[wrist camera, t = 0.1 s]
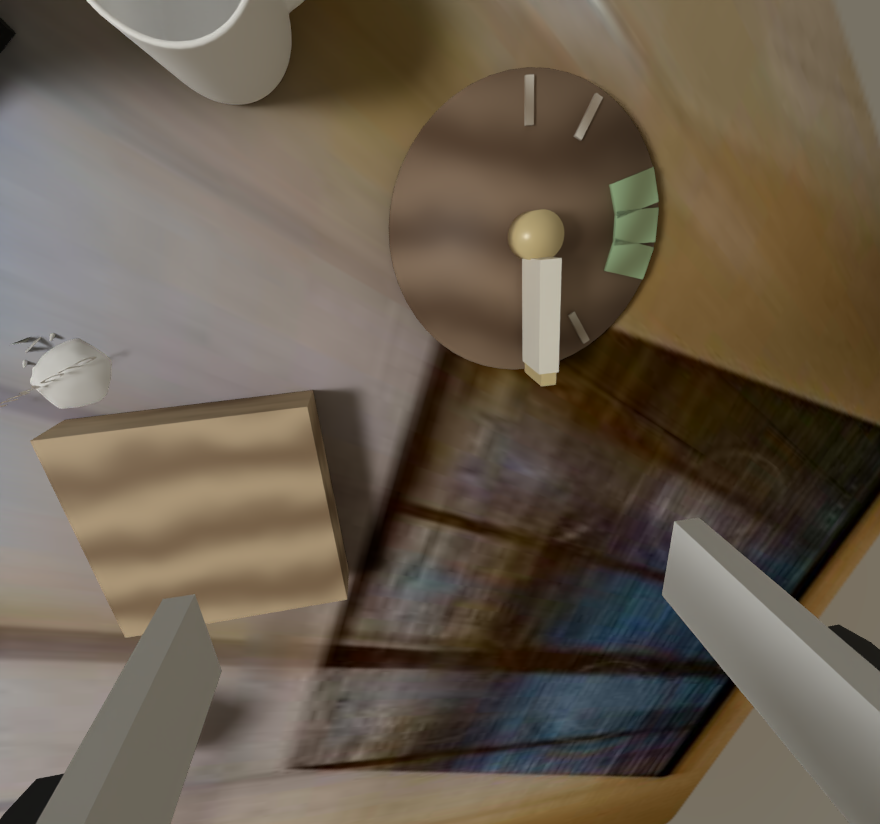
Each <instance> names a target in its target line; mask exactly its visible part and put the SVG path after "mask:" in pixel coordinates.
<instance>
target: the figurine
mask: <svg viewBox="0 0 880 824" xmlns="http://www.w3.org/2000/svg"><path fill="white" fill-rule="evenodd" d="M54 337H55V334H54V333H51V334H50V341H52V340H53V339H54ZM29 338H30V337H29ZM29 338H26V339H23V340H21V341H18V342H16V343H13V344H19V343H24V342H26V341H27V340H28V339H29ZM40 338H41V337H39V338H38V339H36V340H35V341H34V342H33V343H32V345H31V346H30V347H28V348H27V350H26V352H25V353H27V352H28V351H29V350H30V349H31V348H32V347H33V346H34V345H35V344H36V343H37V342H38V341H39V340H40ZM10 345H12V344H10ZM26 365H27V361H26V360H24V361H23V368H25V367H26ZM111 365H112V361H111V360H110V359H109V358H108V357H107V356H106V355H105V354H104V353H102V352H101V351H99V350H98V349H96V348H95V347H93V346H92V345H90V344H88V343H86V342H84V341H82V340H81V339H72V340H69V341H67V342H64V343H62V344H59V345H57V346H55V347H54V348H52V349H50V350H49V351H48V352H47V353H45V354H44V355H43V356H42V357H41V358H40V360H39V361H38V363H37V365H36V366H35V367H33V368H32V372H33V374H32V377H31V379H30V383H31V384H32V385H33V386H32V387H31V388H34V389H36V390H38V391H39V392H40V393H41V394H42V395H43V396H44V397H45V398H46V399H47V400H48V401H50V402H51V403H52V404H53V405H55V406H56V407H58V408H60V409H65V408H76V407H81V406H86V405H90V404H93V403H97V402H99V401H100V400H102V399H103V398H104V397H105V396H106V395H107V392H108V388H109V384H110V380H111ZM30 390H33V389H30ZM30 390H27V391H30ZM29 393H30V392H26V391H23V392H20V393H19V394H22V395H25V394H29ZM22 395H19V396H22ZM19 396H16V397H19ZM12 398H15V397H12ZM12 398H9V399H12ZM7 400H8V399H7ZM15 400H18V399H14V400H9V401H4V402H10V401H15ZM4 402H1V403H0V404H2V403H4ZM7 405H8V404H7ZM3 406H6V405H2V406H0V407H3Z"/></svg>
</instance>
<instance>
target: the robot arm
mask: <svg viewBox="0 0 880 824" xmlns="http://www.w3.org/2000/svg"><path fill="white" fill-rule="evenodd" d="M662 596H663V597H664V598H665V599H666V600H667V602H668V603H669V604H670V605H671V607H672V608H673V609H674V610H675V611H676V613H677V614H678V615H679V616H680V618H681V619H682V620H683V621H684V622H685V624H686V625H687V626H688V627H689V628H690V630H691V631H692V632H693V633H694V635H695V636H696V637H697V638H698V639H699V641H700V642H701V643H702V644H703V646H704V647H705V648H706V649H707V650H708V652H709V653H710V654H711V655H712V657H713V658H714V659H715V660H716V661H717V663H718V664H719V665H720V666H721V667H722V669H723V670H724V671H725V672H726V674H727V675H728V676H729V677H730V678H731V680H732V681H733V682H734V683H735V685H736V686H737V687H738V688H739V689H740V691H741V692H742V693H743V694H744V696H745V697H746V698H747V699H748V700H749V702H750V703H751V704H752V705H753V707H754V708H755V709H756V710H757V711H758V713H759V714H760V715H761V716H762V717H763V718H764V720H765V721H766V722H767V724H768V725H769V726H770V727H771V728H772V730H773V731H774V732H775V733H776V734H777V736H778V737H779V738H780V739H781V741H782V742H783V743H784V744H785V746H786V747H787V748H788V749H789V750H790V752H791V753H792V754H793V755H794V756H795V758H796V759H797V760H798V761H799V762H800V764H801V765H802V766H803V767H804V769H805V770H806V771H807V772H808V773H809V775H810V776H811V777H812V778H813V780H814V781H815V782H816V783H817V784H818V786H819V787H820V788H821V789H822V790H823V792H824V793H825V794H826V795H827V797H828V798H829V799H830V800H831V801H832V803H833V804H834V805H835V806H836V808H837V809H838V810H839V811H840V813H841V814H842V815H843V816H844V817H845V818H846V820H847V821H848V822H849V823H850V824H880V649H878V648H877V647H876V646H875V645H873V644H872V643H871V642H869V641H867V640H866V639H864V638H862V637H860V636H858V635H857V634H855V633H853V632H851V631H849V630H848V629H846V628H844V627H842V626H840V625H834V626H829V627H827V626H826V625H824V624H823V623H822V622H821V621H820V620H819V619H817V618H816V617H815V616H814V615H813V614H812V613H810V612H809V611H808V610H807V609H806V608H805V607H803V606H802V605H801V604H800V603H799V602H797V601H796V600H795V599H794V598H793V597H792V596H790V595H789V594H788V593H787V592H786V591H785V590H783V589H782V588H781V587H780V586H779V585H777V584H776V583H775V582H774V581H773V580H772V579H770V578H769V577H768V576H767V575H766V574H765V573H763V572H762V571H761V570H760V569H759V568H757V567H756V566H755V565H754V564H753V563H752V562H750V561H749V560H748V559H747V558H746V557H745V556H743V555H742V554H741V553H740V552H739V551H737V550H736V549H735V548H734V547H733V546H732V545H730V544H729V543H728V542H727V541H726V540H725V539H723V538H722V537H721V536H720V535H719V534H717V533H716V532H715V531H714V530H713V529H712V528H710V527H709V526H708V525H707V524H706V523H705V522H703V521H702V520H701V519H700V518H694V519H687V520H681V521H674V527H673V533H672V539H671V545H670V551H669V556H668V562H667V568H666V574H665V580H664V586H663V592H662ZM221 672H222V670H221V667H220V664H219V661H218V658H217V656H216V653H215V650H214V647H213V644H212V641H211V639H210V636H209V633H208V630H207V627H206V624H205V621H204V619H203V616H202V613H201V610H200V607H199V604H198V601H197V599H196V596H195V594H193V595H187V596H180V597H174V598H167V599H163V600H162V602H161V603H160V605H159V607H158V609H157V610H156V612H155V614H154V616H153V617H152V619H151V621H150V623H149V625H148V626H147V628H146V630H145V632H144V633H143V635H142V637H141V639H140V640H139V642H138V644H137V646H136V648H135V649H134V651H133V653H132V655H131V656H130V658H129V660H128V662H127V663H126V665H125V667H124V669H123V671H122V672H121V674H120V676H119V678H118V679H117V681H116V683H115V685H114V686H113V688H112V690H111V692H110V694H109V695H108V697H107V699H106V701H105V702H104V704H103V706H102V708H101V709H100V711H99V713H98V715H97V717H96V718H95V720H94V722H93V724H92V725H91V727H90V729H89V731H88V732H87V734H86V736H85V738H84V740H83V741H82V743H81V745H80V747H79V748H78V750H77V752H76V754H75V755H74V757H73V759H72V761H71V763H70V764H69V766H68V768H67V770H66V771H65V773H64V774H60V775H55V776H50V777H44V778H39V779H36V780H35V781H34V782H33V783H32V784H31V786H30V787H29V788H28V789H27V790H26V791H25V792H24V793H23V794H22V795H21V796H20V797H19V798H18V800H17V801H16V802H15V803H14V804H13V805H12V806H11V807H10V808H9V809H8V810H7V811H6V812H5V814H4V815H3V816H2V818H1V819H0V824H170V823H171V820H172V817H173V814H174V811H175V808H176V805H177V802H178V799H179V797H180V794H181V791H182V788H183V785H184V782H185V779H186V776H187V773H188V770H189V767H190V764H191V761H192V758H193V755H194V752H195V749H196V746H197V743H198V740H199V737H200V734H201V731H202V728H203V725H204V722H205V719H206V716H207V713H208V710H209V707H210V704H211V701H212V698H213V695H214V692H215V689H216V687H217V684H218V681H219V678H220V675H221Z"/></svg>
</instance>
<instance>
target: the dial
mask: <svg viewBox="0 0 880 824" xmlns="http://www.w3.org/2000/svg"><path fill="white" fill-rule="evenodd" d="M658 202H659V200H658V193H657V185H656V179H655V172H654V167H653V165H652V162H651V159H650V156H649V153H648V150H647V147H646V145H645V143H644V141H643V139H642V137H641V135H640V132H639V131H638V129H637V128H636V126H635V125H634V123H633V121H632V120H631V118H630V117H629V115H628V114H627V113H626V112H625V111H624V110H623V109H622V107H621V106H620V105H619V104H618V103H617V102H616V101H615V100H614V99H613V98H612V97H610V96H609V95H608V94H607V93H606V92H604V91H603V90H602V89H601V88H599V87H597V86H596V85H594V84H592V83H591V82H589V81H587V80H586V79H583V78H581V77H578V76H576V75H573V74H571V73H568V72H564V71H559V70H554V69H550V68H532V67H527V68H520V69H512V70H507V71H503V72H500V73H496V74H493V75H490V76H487V77H485V78H483V79H481V80H479V81H477V82H475V83H472V84H470V85H469V86H467V87H466V88H464V89H463V90H461V91H460V92H458V93H457V94H455V95H454V96H453V97H451V98H450V99H449V100H448V101H447V102H446V103H445V104H444V105H443V106H441V107H440V108H439V109H438V110H437V111H436V112H435V113H434V115H433V116H432V117H431V118H430V119H429V121H428V122H427V123H426V124H425V125H424V126H423V128H422V129H421V131H420V132H419V134H418V136H417V137H416V139H415V140H414V142H413V143H412V145H411V147H410V149H409V151H408V153H407V155H406V157H405V159H404V162H403V164H402V166H401V168H400V171H399V174H398V177H397V180H396V183H395V186H394V191H393V196H392V201H391V206H390V217H389V243H390V252H391V258H392V263H393V268H394V271H395V274H396V278H397V281H398V284H399V286H400V289H401V291H402V293H403V295H404V297H405V300H406V302H407V303H408V305H409V307H410V308H411V310H412V311H413V313H414V315H415V316H416V318H417V319H418V320H419V322H420V323H421V324H422V325H423V326H424V328H425V329H426V330H427V331H428V332H429V333H430V334H431V335H432V336H433V337H434V338H435V339H436V340H437V341H438V342H439V343H441V344H442V345H444V346H445V347H446V348H448V349H449V350H451V351H452V352H454V353H456V354H457V355H459V356H461V357H463V358H465V359H467V360H470V361H472V362H475V363H478V364H481V365H485V366H489V367H494V368H502V369H525V363H524V362H523V357H522V259H520V258H518V257H517V256H515V255H514V254H513V252H512V251H511V249H510V247H509V244H508V231H509V227H510V225H511V223H512V222H513V220H514V219H515V218H516V217H517V216H518V215H520V214H522V213H524V212H527V211H534V210H540V209H546V210H550V211H552V212H554V213H555V214H557V215H558V217H559V218H560V219H561V221H562V223H563V226H564V240H563V244H562V246H561V248H560V250H559V251H558V252H557V254H556V255H555V256H553V257H558V258H562V269H561V305H560V340H559V361H560V360H562V359H564V358H566V357H568V356H570V355H573V354H574V353H576V352H578V351H579V350H581V349H583V348H584V347H586V346H588V345H589V344H590V343H592V342H593V341H594V340H595V339H597V338H598V337H599V336H601V335H602V334H603V333H604V332H605V331H606V330H607V329H608V328H609V327H610V326H611V325H612V324H613V323H614V322H615V320H616V319H617V318H618V317H619V316H620V314H621V313H622V312H623V311H624V310H625V308H626V307H627V305H628V303H629V302H630V300H631V299H632V297H633V296H634V294H635V292H636V290H637V288H638V287H639V285H640V283H641V281H642V279H643V278H644V275H645V272H646V269H647V266H648V263H649V261H650V258H651V255H652V252H653V249H654V247H653V246H654V242H655V240H656V230H657V221H658V211H659V208H658Z"/></svg>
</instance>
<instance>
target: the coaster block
mask: <svg viewBox="0 0 880 824" xmlns="http://www.w3.org/2000/svg"><path fill="white" fill-rule="evenodd" d="M30 442H31V444H32V446H33V448H34V450H35V452H36V454H37V456H38V458H39V460H40V462H41V464H42V466H43V468H44V470H45V473H46V475H47V477H48V479H49V481H50V483H51V485H52V487H53V489H54V491H55V493H56V495H57V497H58V499H59V502H60V504H61V506H62V508H63V510H64V512H65V514H66V516H67V518H68V520H69V522H70V524H71V526H72V528H73V531H74V533H75V535H76V537H77V539H78V541H79V543H80V545H81V547H82V549H83V551H84V553H85V555H86V557H87V559H88V562H89V564H90V566H91V568H92V570H93V572H94V574H95V576H96V578H97V580H98V582H99V584H100V586H101V588H102V591H103V593H104V595H105V597H106V599H107V601H108V603H109V605H110V607H111V609H112V611H113V613H114V615H115V617H116V620H117V622H118V624H119V626H120V628H121V630H122V632H123V634H124V636H125V638H127V637H133V636H139V635H143V633H144V632H145V630H146V628H147V626H148V625H149V623H150V621H151V619H152V617H153V616H154V614H155V612H156V610H157V609H158V607H159V605H160V603H161V602H162V600H163V599H167V598H174V597H180V596H187V595H193V594H195V596H196V599H197V601H198V604H199V607H200V610H201V613H202V616H203V619H204V621H205V624H208V623H214V622H220V621H226V620H231V619H237V618H243V617H249V616H254V615H260V614H266V613H272V612H278V611H283V610H289V609H295V608H301V607H306V606H312V605H318V604H324V603H330V602H335V601H341V600H347V594H348V576H349V569H348V564H347V559H346V554H345V549H344V543H343V538H342V533H341V528H340V523H339V518H338V513H337V508H336V503H335V498H334V493H333V488H332V483H331V478H330V473H329V468H328V463H327V458H326V453H325V448H324V443H323V438H322V433H321V428H320V423H319V418H318V413H317V408H316V403H315V398H314V393H313V390H310V391H302V392H293V393H285V394H277V395H268V396H260V397H252V398H243V399H235V400H227V401H218V402H210V403H202V404H193V405H185V406H177V407H168V408H160V409H152V410H144V411H135V412H127V413H119V414H110V415H102V416H94V417H85V418H77V419H69V420H64V421H62V422H60V423H59V424H57V425H56V426H54V427H52V428H51V429H49V430H47V431H46V432H44V433H42V434H41V435H39V436H38V437H36V438H34V439H33V440H31V441H30Z"/></svg>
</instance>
